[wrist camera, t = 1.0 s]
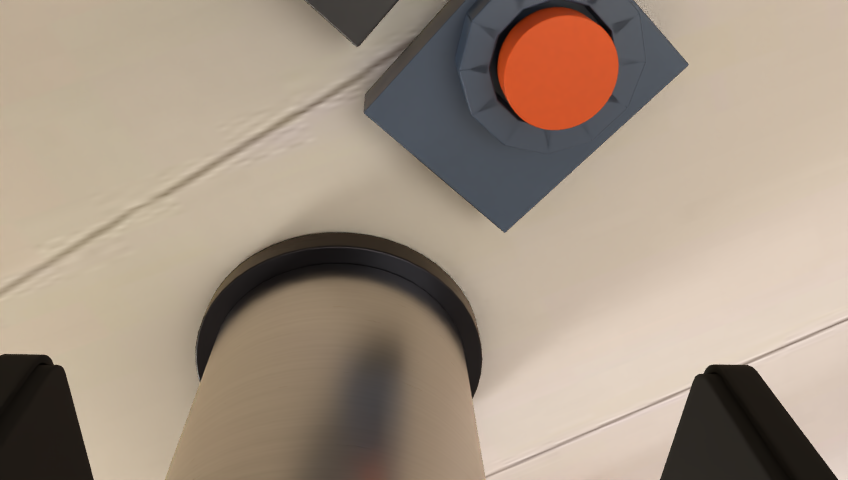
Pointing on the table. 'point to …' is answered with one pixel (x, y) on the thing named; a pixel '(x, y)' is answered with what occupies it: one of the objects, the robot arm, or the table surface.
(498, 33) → the button housing
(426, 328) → the kettle
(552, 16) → the button
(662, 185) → the table surface
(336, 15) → the console
